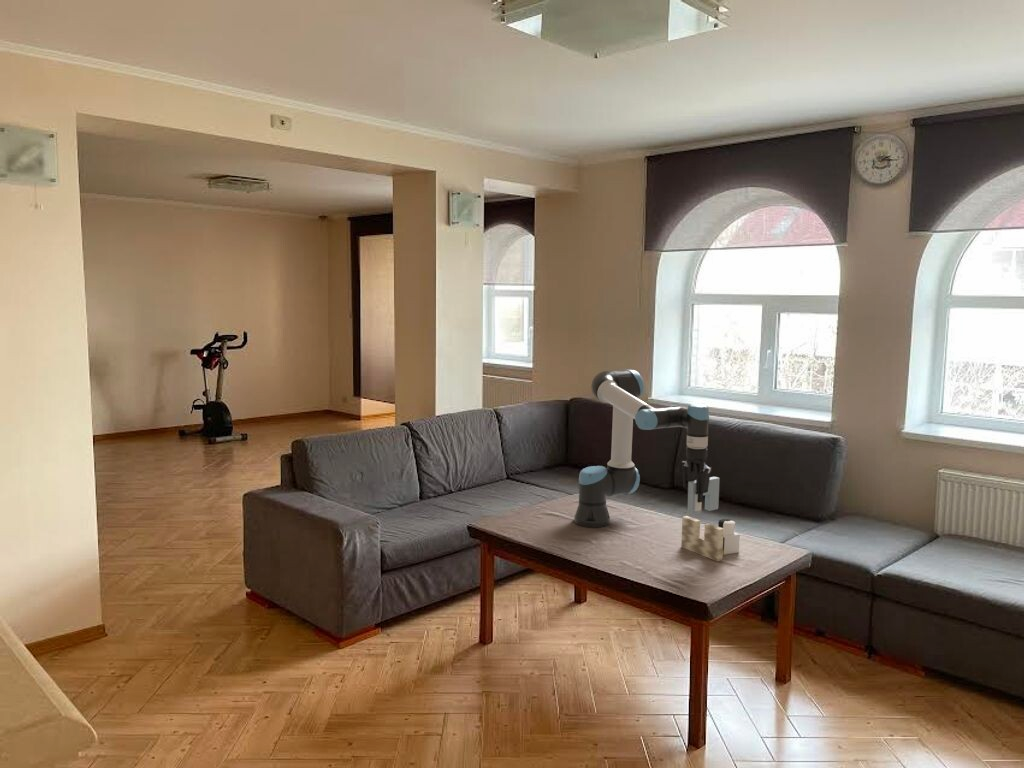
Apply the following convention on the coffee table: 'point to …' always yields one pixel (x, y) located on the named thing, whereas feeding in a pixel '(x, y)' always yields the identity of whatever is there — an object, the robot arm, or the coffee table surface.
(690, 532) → the standing plate
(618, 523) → the coffee table surface
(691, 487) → the cross plate
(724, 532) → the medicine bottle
